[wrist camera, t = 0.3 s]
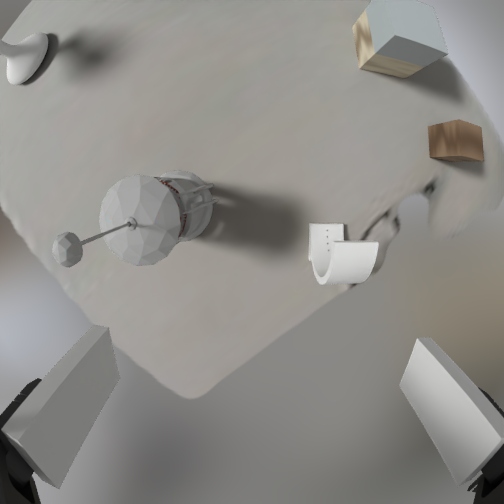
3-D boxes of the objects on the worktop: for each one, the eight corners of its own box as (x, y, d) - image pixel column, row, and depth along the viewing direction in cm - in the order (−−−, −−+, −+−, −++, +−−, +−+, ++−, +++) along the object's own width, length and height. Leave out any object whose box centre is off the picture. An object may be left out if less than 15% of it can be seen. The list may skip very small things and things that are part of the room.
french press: (135, 185, 35) (-8, 203, 11) (212, 154, 34) (135, 105, 10) (158, 251, 37) (47, 346, 13) (235, 225, 37) (205, 310, 12)
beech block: (352, 27, 29) (365, 9, 23) (396, 38, 29) (413, 23, 23) (358, 68, 31) (374, 53, 25) (404, 78, 31) (424, 67, 25)
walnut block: (427, 126, 33) (459, 119, 25) (449, 132, 33) (481, 127, 25) (429, 157, 34) (461, 155, 26) (451, 161, 34) (483, 161, 26)
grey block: (365, 9, 23) (380, -12, 17) (413, 23, 23) (433, 7, 17) (374, 53, 25) (394, 35, 19) (424, 67, 25) (448, 54, 19)
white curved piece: (341, 223, 36) (379, 242, 25) (339, 265, 38) (371, 299, 26) (309, 222, 36) (335, 242, 25) (307, 266, 38) (330, 302, 26)
